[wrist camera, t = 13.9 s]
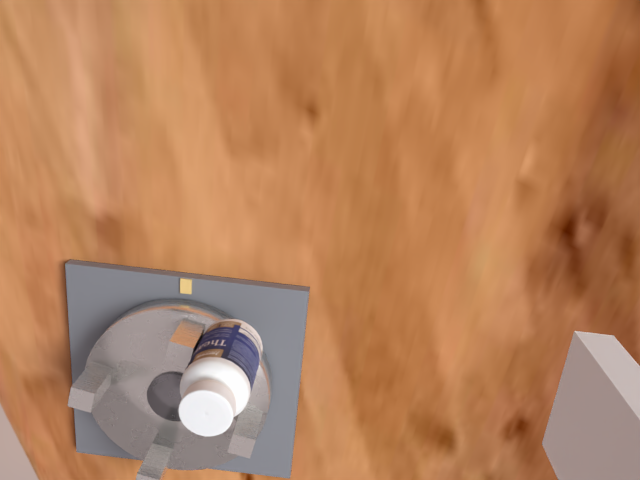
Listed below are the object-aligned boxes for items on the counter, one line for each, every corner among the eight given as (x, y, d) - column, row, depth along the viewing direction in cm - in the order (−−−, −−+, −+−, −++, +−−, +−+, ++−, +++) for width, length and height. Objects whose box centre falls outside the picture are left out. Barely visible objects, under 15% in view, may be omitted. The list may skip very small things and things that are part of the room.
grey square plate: (70, 259, 52) (63, 264, 51) (309, 287, 51) (308, 292, 50) (81, 445, 59) (75, 453, 58) (291, 471, 59) (289, 479, 58)
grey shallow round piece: (83, 424, 57) (50, 471, 51) (111, 275, 51) (78, 308, 45) (247, 471, 57) (234, 523, 51) (293, 330, 52) (285, 370, 46)
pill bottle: (233, 304, 48) (205, 368, 39) (276, 348, 50) (258, 419, 40) (189, 339, 50) (152, 409, 41) (231, 381, 51) (204, 457, 42)
